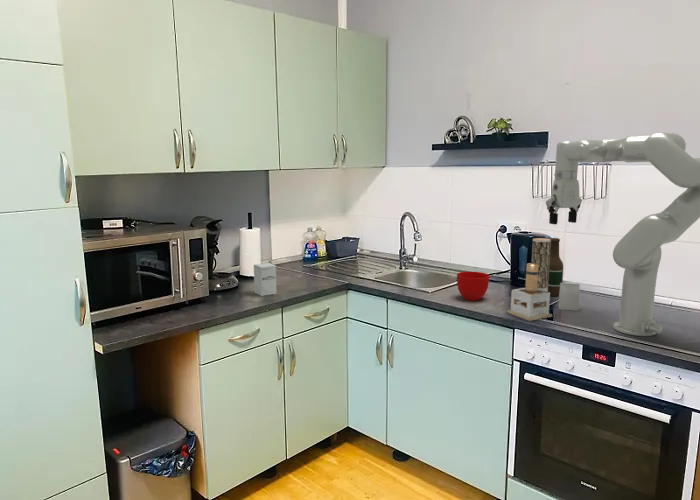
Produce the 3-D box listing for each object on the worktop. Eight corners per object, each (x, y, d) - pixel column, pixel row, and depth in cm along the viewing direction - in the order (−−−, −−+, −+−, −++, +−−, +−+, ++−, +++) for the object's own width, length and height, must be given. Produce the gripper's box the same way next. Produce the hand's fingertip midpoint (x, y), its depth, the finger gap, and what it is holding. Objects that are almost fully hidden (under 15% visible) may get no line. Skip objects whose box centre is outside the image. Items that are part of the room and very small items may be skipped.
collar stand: (551, 316, 188) (553, 292, 187) (529, 321, 184) (530, 296, 182) (529, 309, 198) (530, 286, 197) (507, 312, 193) (508, 289, 192)
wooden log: (535, 303, 206) (539, 241, 202) (525, 298, 213) (529, 238, 208) (550, 301, 208) (554, 240, 204) (540, 297, 214) (543, 237, 210)
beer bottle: (565, 295, 218) (569, 238, 213) (553, 297, 214) (556, 240, 210) (550, 291, 224) (553, 236, 220) (537, 293, 220) (541, 237, 216)
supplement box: (261, 296, 218) (260, 267, 216) (254, 292, 224) (253, 264, 222) (277, 294, 222) (276, 265, 220) (269, 290, 228) (268, 262, 226)
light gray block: (578, 311, 196) (580, 285, 194) (558, 309, 198) (560, 283, 196) (577, 308, 199) (579, 283, 197) (558, 306, 201) (560, 281, 199)
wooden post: (537, 312, 190) (541, 264, 187) (529, 314, 188) (532, 265, 185) (529, 310, 193) (532, 262, 190) (521, 311, 192) (524, 263, 189)
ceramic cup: (500, 297, 215) (501, 273, 214) (475, 304, 204) (476, 280, 203) (474, 291, 225) (474, 268, 223) (449, 298, 214) (450, 274, 212)
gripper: (557, 176, 180) (553, 225, 183) (591, 175, 187) (587, 222, 190) (540, 176, 186) (537, 223, 189) (574, 175, 194) (571, 220, 197)
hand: (562, 223), depth 190 cm, fingers open, 9 cm apart
